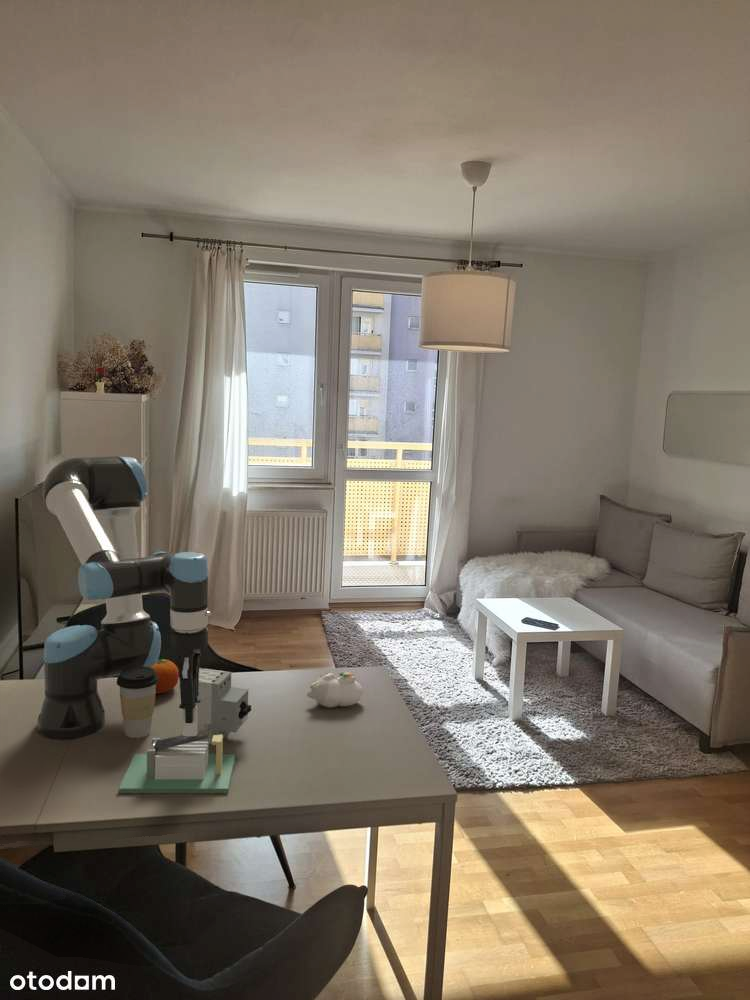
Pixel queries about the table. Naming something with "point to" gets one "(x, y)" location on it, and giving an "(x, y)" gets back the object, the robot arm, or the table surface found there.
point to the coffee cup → (137, 699)
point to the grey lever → (179, 740)
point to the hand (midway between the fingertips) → (190, 734)
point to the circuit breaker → (220, 704)
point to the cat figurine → (336, 690)
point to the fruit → (165, 675)
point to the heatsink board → (177, 785)
